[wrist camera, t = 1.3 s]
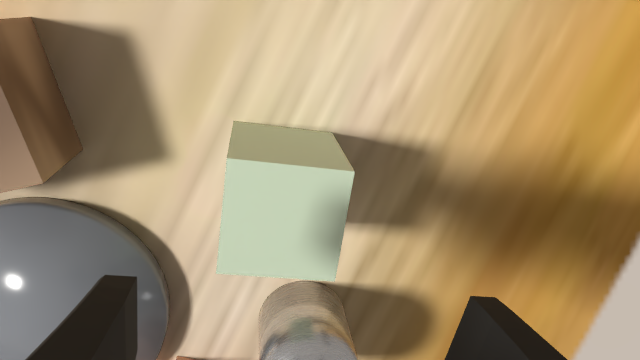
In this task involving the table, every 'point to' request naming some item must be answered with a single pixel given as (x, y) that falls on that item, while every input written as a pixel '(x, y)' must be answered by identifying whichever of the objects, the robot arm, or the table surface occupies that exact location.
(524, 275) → the table surface
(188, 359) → the terracotta block
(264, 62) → the table surface
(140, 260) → the coaster
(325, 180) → the sage block
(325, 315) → the grey tin
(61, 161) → the walnut block
